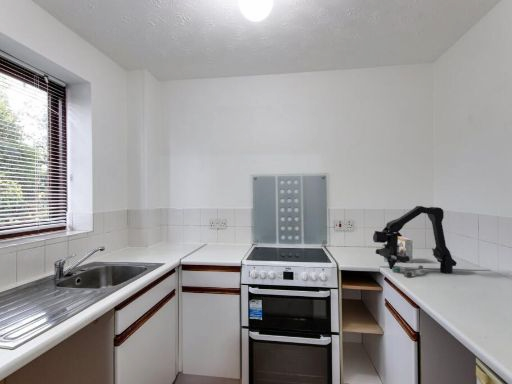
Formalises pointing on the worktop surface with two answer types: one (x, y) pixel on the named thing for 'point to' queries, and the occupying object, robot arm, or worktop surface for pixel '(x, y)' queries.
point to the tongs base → (414, 272)
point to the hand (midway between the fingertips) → (391, 269)
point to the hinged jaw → (403, 269)
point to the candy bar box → (405, 247)
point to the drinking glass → (385, 258)
